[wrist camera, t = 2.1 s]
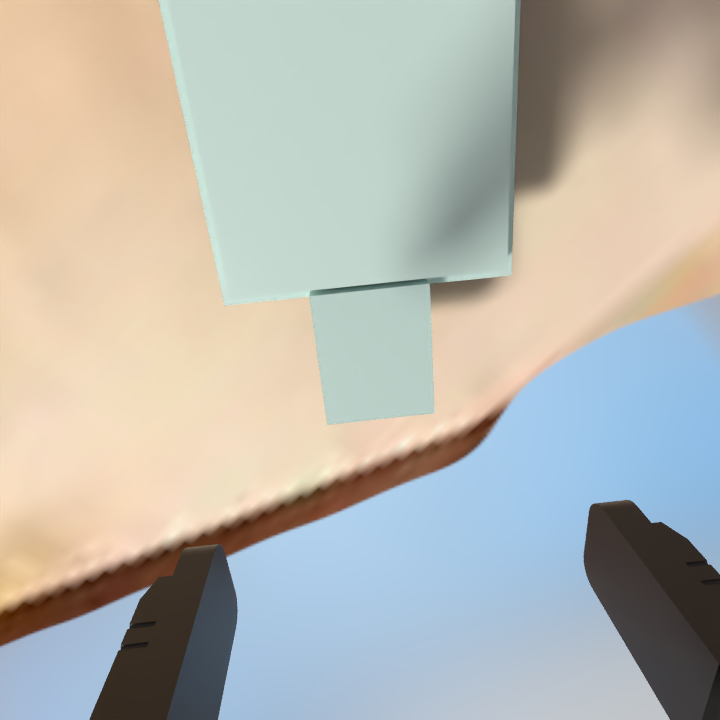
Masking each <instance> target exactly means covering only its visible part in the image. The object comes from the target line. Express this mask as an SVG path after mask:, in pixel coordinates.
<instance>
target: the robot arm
mask: <svg viewBox="0 0 720 720" xmlns="http://www.w3.org/2000/svg"><path fill="white" fill-rule="evenodd" d="M584 566H585V570H586V574H587V577H588V580H589V582H590V585H591V587H592V588H593V590H594V592H595V593H596V595H597V597H598V599H599V600H600V602H601V604H602V605H603V607H604V609H605V610H606V612H607V614H608V615H609V617H610V619H611V621H612V622H613V624H614V626H615V627H616V629H617V631H618V632H619V634H620V636H621V637H622V639H623V641H624V642H625V644H626V646H627V647H628V649H629V651H630V653H631V654H632V656H633V658H634V659H635V661H636V663H637V664H638V666H639V668H640V669H641V671H642V673H643V674H644V676H645V678H646V680H647V681H648V683H649V685H650V686H651V688H652V690H653V691H654V693H655V695H656V697H657V698H658V700H659V702H660V703H661V705H662V707H663V708H664V710H665V712H666V713H667V715H668V717H669V718H670V720H720V574H719V573H718V572H717V571H716V570H715V569H714V568H713V567H712V566H711V565H708V564H707V560H706V559H705V558H704V557H703V556H702V555H701V553H700V552H699V551H698V550H697V549H696V548H695V547H694V546H693V545H692V544H691V542H690V541H689V540H688V539H687V538H685V537H683V536H682V535H680V534H679V533H677V532H676V531H674V530H672V529H671V528H669V527H668V526H667V525H665V524H663V523H662V522H659V523H651V522H650V521H649V520H648V518H647V517H646V516H645V515H644V514H643V513H642V511H641V510H640V509H639V508H638V507H637V506H636V505H635V504H634V503H633V502H632V501H630V500H623V501H614V502H605V503H596V504H593V505H591V507H590V510H589V517H588V525H587V533H586V541H585V549H584ZM236 624H237V598H236V593H235V589H234V585H233V581H232V578H231V574H230V570H229V567H228V563H227V559H226V556H225V552H224V549H223V547H222V545H220V544H217V545H208V546H199V547H191V548H185V549H184V550H183V551H182V553H181V555H180V558H179V561H178V563H177V566H176V569H175V572H174V574H173V576H165V577H159V578H158V579H157V580H156V581H155V582H154V584H153V585H152V586H151V587H150V588H149V589H148V591H147V592H146V593H145V594H144V595H143V597H142V598H141V599H140V601H139V603H138V605H137V608H136V610H135V613H134V615H133V617H132V620H131V622H130V628H129V629H128V630H127V632H126V634H125V636H124V639H123V641H122V643H121V650H119V651H118V653H117V656H116V658H115V660H114V663H113V665H112V667H111V670H110V672H109V674H108V677H107V679H106V682H105V684H104V686H103V689H102V691H101V693H100V696H99V698H98V701H97V703H96V705H95V708H94V710H93V713H92V715H91V717H90V720H218V715H219V711H220V706H221V700H222V695H223V690H224V685H225V680H226V675H227V670H228V665H229V660H230V655H231V649H232V645H233V640H234V634H235V629H236Z"/></svg>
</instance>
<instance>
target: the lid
mask: <svg viewBox="0 0 720 720" xmlns="http://www.w3.org/2000/svg"><path fill="white" fill-rule="evenodd" d="M159 5H160V9H161V14H162V18H163V23H164V28H165V32H166V37H167V42H168V46H169V51H170V56H171V60H172V65H173V69H174V74H175V79H176V83H177V88H178V93H179V97H180V102H181V106H182V111H183V116H184V120H185V125H186V130H187V134H188V139H189V143H190V148H191V153H192V157H193V162H194V167H195V171H196V176H197V180H198V185H199V190H200V194H201V199H202V204H203V208H204V213H205V217H206V222H207V227H208V231H209V236H210V241H211V245H212V250H213V254H214V259H215V264H216V268H217V273H218V278H219V282H220V287H221V291H222V296H223V301H224V305H225V306H226V305H235V304H245V303H254V302H264V301H273V300H283V299H292V298H302V297H309V298H310V305H311V312H312V319H313V326H314V333H315V341H316V348H317V355H318V362H319V369H320V376H321V383H322V390H323V397H324V405H325V412H326V419H327V425H330V424H339V423H348V422H358V421H367V420H376V419H385V418H394V417H404V416H413V415H422V414H431V413H434V386H433V358H432V330H431V302H430V284H434V283H444V282H453V281H463V280H472V279H482V278H491V277H500V276H510V275H511V271H512V242H513V213H514V184H515V155H516V126H517V97H518V68H519V38H520V9H521V0H159Z"/></svg>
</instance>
